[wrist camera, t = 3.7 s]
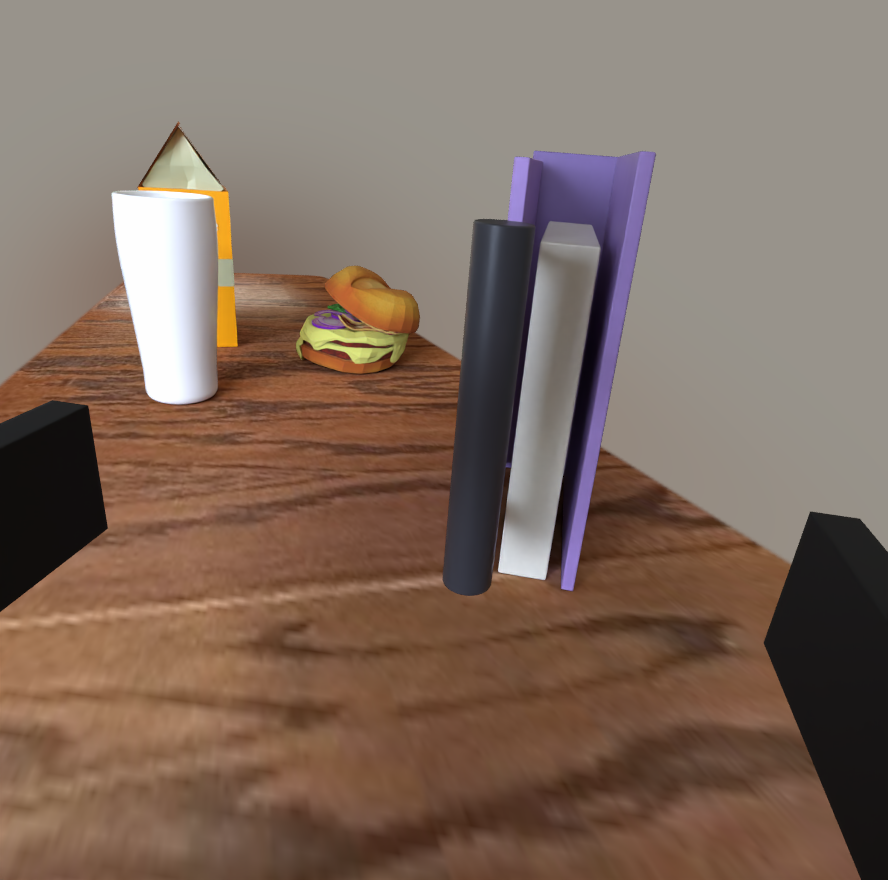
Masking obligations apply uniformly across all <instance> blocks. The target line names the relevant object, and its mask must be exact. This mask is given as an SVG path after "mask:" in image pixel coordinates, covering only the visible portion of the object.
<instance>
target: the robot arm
mask: <svg viewBox="0 0 888 880" xmlns="http://www.w3.org/2000/svg"><path fill="white" fill-rule="evenodd" d="M106 529H108V527H107V520H106V514H105V508H104V502H103V495H102V489H101V483H100V477H99V471H98V464H97V458H96V452H95V446H94V439H93V433H92V427H91V421H90V414H89V408H88V406H87V405H80V404H74V403H67V402H60V401H53V400H52V401H50V402H48V403H45V404H43V405H41V406H39V407H36V408H34V409H32V410H30V411H27V412H25V413H23V414H21V415H18V416H16V417H14V418H12V419H9V420H7V421H5V422H3V423H0V612H1V611H2V610H3V609H5V608H6V607H7V606H8V605H10V604H11V603H12V602H14V601H15V600H16V599H17V598H19V597H20V596H21V595H23V594H24V593H25V592H27V591H28V590H29V589H30V588H32V587H33V586H34V585H36V584H37V583H38V582H39V581H41V580H42V579H43V578H45V577H46V576H47V575H48V574H50V573H51V572H52V571H54V570H55V569H56V568H57V567H59V566H60V565H61V564H63V563H64V562H65V561H66V560H68V559H69V558H70V557H72V556H73V555H74V554H75V553H77V552H78V551H79V550H81V549H82V548H83V547H84V546H86V545H87V544H88V543H90V542H91V541H92V540H93V539H95V538H96V537H97V536H99V535H100V534H101V533H102V532H104V531H105V530H106ZM764 645H765V647H766V650H767V652H768V654H769V657H770V659H771V662H772V664H773V667H774V669H775V671H776V674H777V676H778V679H779V681H780V684H781V686H782V688H783V691H784V693H785V696H786V698H787V701H788V703H789V705H790V708H791V710H792V713H793V715H794V718H795V720H796V722H797V725H798V727H799V730H800V732H801V735H802V737H803V739H804V742H805V744H806V747H807V749H808V752H809V754H810V756H811V759H812V761H813V764H814V766H815V769H816V771H817V774H818V776H819V778H820V781H821V783H822V786H823V788H824V791H825V793H826V795H827V798H828V800H829V803H830V805H831V808H832V810H833V812H834V815H835V817H836V820H837V822H838V825H839V827H840V829H841V832H842V834H843V837H844V839H845V842H846V844H847V846H848V849H849V851H850V854H851V856H852V859H853V861H854V863H855V866H856V868H857V871H858V873H859V876H860V878H861V880H888V552H887V551H886V550H885V548H884V547H883V546H882V545H881V544H880V542H879V541H878V540H877V539H876V538H875V536H874V535H873V534H872V533H871V532H870V530H869V529H868V528H867V527H866V526H865V524H864V523H863V522H862V521H861V520H860V519H857V518H851V517H844V516H837V515H830V514H823V513H816V512H810V514H809V517H808V519H807V522H806V525H805V528H804V531H803V533H802V536H801V539H800V542H799V545H798V547H797V550H796V553H795V556H794V559H793V562H792V564H791V567H790V570H789V573H788V576H787V578H786V581H785V584H784V587H783V590H782V593H781V595H780V598H779V601H778V604H777V607H776V610H775V612H774V615H773V618H772V621H771V624H770V626H769V629H768V632H767V635H766V638H765V641H764Z"/></svg>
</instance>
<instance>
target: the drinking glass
mask: <svg viewBox="0 0 888 880" xmlns="http://www.w3.org/2000/svg"><path fill="white" fill-rule="evenodd" d="M112 205H113V217H114V228H115V236H116V243H117V250H118V255H119V261H120V266H121V270H122V275H123V279H124V284H125V288H126V293H127V297H128V302H129V306H130V311H131V315H132V320H133V324H134V329H135V334H136V338H137V343H138V348H139V352H140V357H141V362H142V367H143V372H144V380H145V388H146V392H147V394H148V395H149V397H151V398H152V399H153V400H155V401H158V402H161V403H166V404H191V403H197V402H201V401H204V400H207V399H209V398H211V397H212V396H213V395H214V394H215V393H216V392H217V389H218V375H217V314H218V238H217V226H216V216H215V208H214V199H213V198H212V197H211V196H207V195H202V194H194V193H183V192H168V191H143V190H130V191H129V190H127V191H115V192H113V193H112Z"/></svg>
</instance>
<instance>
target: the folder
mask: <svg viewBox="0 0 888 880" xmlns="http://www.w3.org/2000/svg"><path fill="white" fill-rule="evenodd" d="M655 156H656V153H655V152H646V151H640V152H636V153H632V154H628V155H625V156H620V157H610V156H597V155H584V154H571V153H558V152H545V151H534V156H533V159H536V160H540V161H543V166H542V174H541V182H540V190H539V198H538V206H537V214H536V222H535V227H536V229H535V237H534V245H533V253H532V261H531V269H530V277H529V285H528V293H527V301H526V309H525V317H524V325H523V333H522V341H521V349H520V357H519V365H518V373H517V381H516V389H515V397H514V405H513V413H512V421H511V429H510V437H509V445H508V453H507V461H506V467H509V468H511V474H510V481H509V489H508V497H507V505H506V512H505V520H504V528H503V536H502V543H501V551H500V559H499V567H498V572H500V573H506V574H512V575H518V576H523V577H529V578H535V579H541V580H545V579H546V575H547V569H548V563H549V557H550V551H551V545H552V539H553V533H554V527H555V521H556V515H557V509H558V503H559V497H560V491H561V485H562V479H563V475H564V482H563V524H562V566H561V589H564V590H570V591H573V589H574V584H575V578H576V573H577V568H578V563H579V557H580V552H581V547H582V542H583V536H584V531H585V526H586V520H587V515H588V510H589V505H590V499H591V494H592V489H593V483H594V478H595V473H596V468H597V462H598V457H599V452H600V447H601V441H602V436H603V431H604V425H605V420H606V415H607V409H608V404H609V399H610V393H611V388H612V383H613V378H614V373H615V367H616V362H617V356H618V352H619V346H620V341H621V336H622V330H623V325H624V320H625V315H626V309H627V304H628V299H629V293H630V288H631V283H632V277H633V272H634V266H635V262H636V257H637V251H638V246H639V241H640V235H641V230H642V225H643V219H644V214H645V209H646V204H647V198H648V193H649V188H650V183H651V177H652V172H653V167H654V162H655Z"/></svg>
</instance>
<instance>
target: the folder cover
mask: <svg viewBox="0 0 888 880" xmlns="http://www.w3.org/2000/svg"><path fill="white" fill-rule="evenodd" d="M542 166H543V161H540V160H536V159H532V158H528V157H515V158H514V167H513V176H512V186H511V196H510V204H509V214H508V220H495V219H478V220H475V221H474V222H473V223H474V224H473V234H472V245H471V257H470V268H469V281H468V291H467V303H466V314H465V326H464V338H463V349H462V360H461V372H460V383H459V395H458V406H457V418H456V429H455V441H454V453H453V464H452V476H451V487H450V499H449V510H448V522H447V533H446V545H445V556H444V568H443V582H444V584H445V586H446V587H447V588H448V589H449V590H451V591H453V592H455V593H457V594H460V595H466V596H473V595H479V594H482V593H484V592H486V591H487V590H488V589H489V587H490V586H491V581H492V573H493V565H494V557H495V549H496V541H497V533H498V525H499V517H500V509H501V501H502V493H503V485H504V477H505V469H506V461H507V453H508V445H509V437H510V429H511V421H512V413H513V405H514V397H515V389H516V381H517V373H518V365H519V357H520V349H521V341H522V333H523V325H524V317H525V309H526V301H527V293H528V285H529V277H530V269H531V261H532V253H533V245H534V237H535V229H536V227H535V222H536V214H537V206H538V198H539V190H540V182H541V174H542Z"/></svg>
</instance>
